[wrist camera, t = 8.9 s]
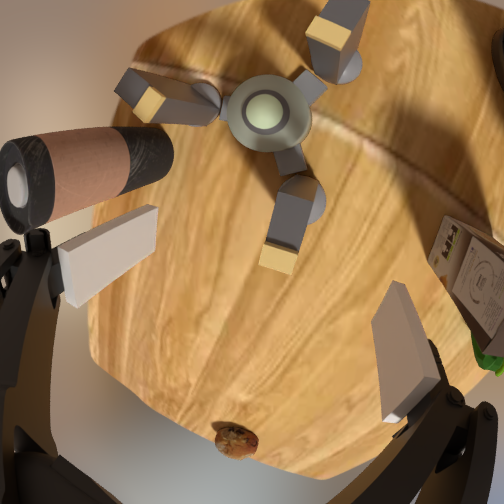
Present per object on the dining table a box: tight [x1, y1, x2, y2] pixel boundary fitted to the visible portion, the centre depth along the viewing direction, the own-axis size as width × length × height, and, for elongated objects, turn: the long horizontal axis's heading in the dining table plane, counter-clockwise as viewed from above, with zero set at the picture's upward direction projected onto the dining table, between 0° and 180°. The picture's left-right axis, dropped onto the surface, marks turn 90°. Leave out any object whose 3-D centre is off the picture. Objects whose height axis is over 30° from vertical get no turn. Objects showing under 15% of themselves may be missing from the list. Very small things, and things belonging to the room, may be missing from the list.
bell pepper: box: [471, 332, 504, 377], centre depth 22 cm, size 8×8×10 cm
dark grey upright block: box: [305, 0, 370, 85], centre depth 16 cm, size 5×5×12 cm
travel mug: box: [0, 127, 174, 235], centre depth 22 cm, size 8×8×20 cm
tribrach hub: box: [219, 69, 327, 176], centre depth 23 cm, size 12×11×7 cm
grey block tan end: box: [258, 174, 326, 275], centre depth 23 cm, size 5×5×12 cm
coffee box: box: [428, 215, 504, 357], centre depth 18 cm, size 9×6×16 cm
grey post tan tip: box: [114, 68, 222, 127], centre depth 22 cm, size 5×5×12 cm
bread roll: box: [215, 427, 259, 460], centre depth 50 cm, size 10×10×8 cm
